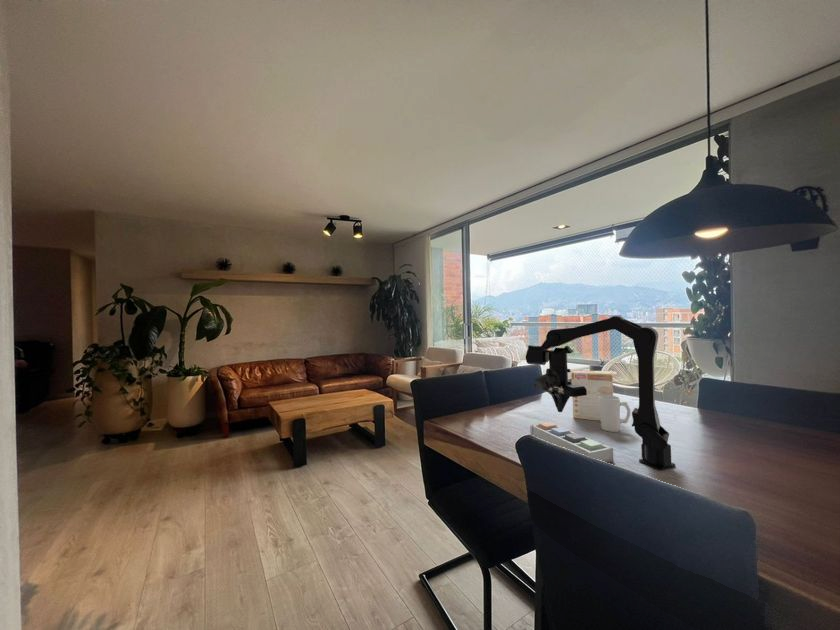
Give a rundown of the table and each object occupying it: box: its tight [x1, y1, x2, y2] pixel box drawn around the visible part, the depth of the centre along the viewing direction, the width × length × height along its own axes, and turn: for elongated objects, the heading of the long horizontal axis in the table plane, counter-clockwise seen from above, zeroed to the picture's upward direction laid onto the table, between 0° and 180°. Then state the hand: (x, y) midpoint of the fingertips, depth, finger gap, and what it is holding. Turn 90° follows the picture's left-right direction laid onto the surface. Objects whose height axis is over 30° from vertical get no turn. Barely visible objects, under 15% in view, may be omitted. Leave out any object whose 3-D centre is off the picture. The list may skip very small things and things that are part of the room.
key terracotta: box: [538, 421, 557, 431], centre depth 123 cm, size 4×4×2 cm
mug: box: [599, 395, 631, 433], centre depth 129 cm, size 10×7×12 cm, turn 60°
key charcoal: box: [565, 432, 586, 444], centre depth 110 cm, size 4×4×2 cm
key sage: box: [580, 438, 603, 451], centre depth 104 cm, size 4×4×2 cm
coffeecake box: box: [571, 369, 614, 422], centre depth 143 cm, size 15×7×20 cm, turn 59°
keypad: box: [529, 421, 614, 463], centre depth 113 cm, size 27×9×4 cm, turn 19°
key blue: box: [551, 426, 571, 437], centre depth 116 cm, size 4×4×2 cm
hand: (560, 411), depth 116 cm, fingers closed
